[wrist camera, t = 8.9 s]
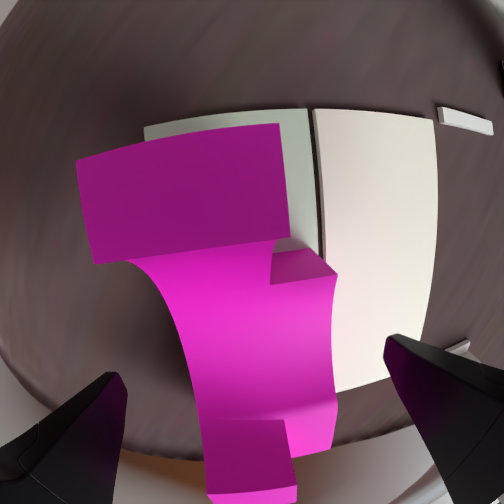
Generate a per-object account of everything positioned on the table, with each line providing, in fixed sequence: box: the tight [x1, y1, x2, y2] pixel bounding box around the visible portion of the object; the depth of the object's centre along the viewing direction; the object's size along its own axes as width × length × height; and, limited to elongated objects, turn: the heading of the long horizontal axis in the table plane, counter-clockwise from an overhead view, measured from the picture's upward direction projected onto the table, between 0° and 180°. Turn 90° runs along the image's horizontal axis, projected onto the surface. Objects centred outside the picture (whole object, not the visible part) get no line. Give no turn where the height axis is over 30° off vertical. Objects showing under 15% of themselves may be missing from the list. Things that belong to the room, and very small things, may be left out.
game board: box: [144, 107, 493, 393], centre depth 14 cm, size 22×19×1 cm
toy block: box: [76, 123, 338, 504], centre depth 10 cm, size 15×6×8 cm, turn 6°
